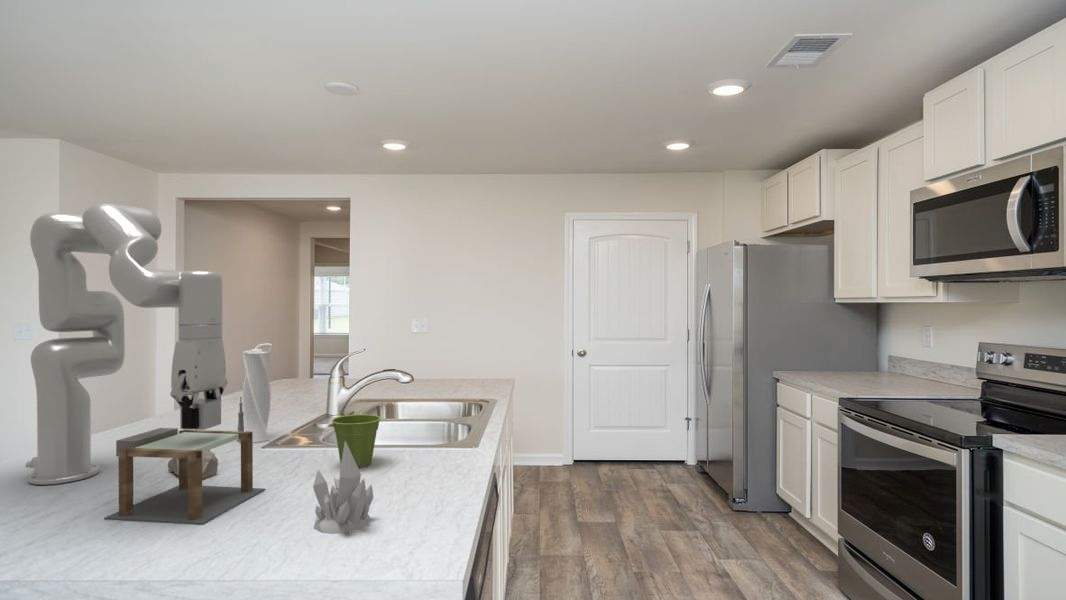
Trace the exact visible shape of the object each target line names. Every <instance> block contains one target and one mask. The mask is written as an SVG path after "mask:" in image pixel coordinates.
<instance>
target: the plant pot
mask: <svg viewBox="0 0 1066 600" xmlns="http://www.w3.org/2000/svg"><path fill="white" fill-rule="evenodd" d="M381 420H382V417H381V416H379V415H375V414H364V413H363V414H360V413H359V414H346V415H341V416H337V417H334V418H331V419H330V422H331V424H333V430H334V432H335V436H336V444H337V448H338V456H339V461H340V464H341V462H342V456H343V449H344V443H345V441H346V443H347V445H348V447H349V449H350V451H351V454H352V456H353V458H354V460H355V462H356V464H357V467H358V469H359V468H361V467H368V466H370V465H371V464H372V461H373V456H374V449H375V444H376V438H377V437H376V436H377V433H378V430H379V425H380V421H381Z"/></svg>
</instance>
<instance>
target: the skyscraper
mask: <svg viewBox="0 0 1066 600" xmlns="http://www.w3.org/2000/svg"><path fill="white" fill-rule="evenodd" d="M262 346H269V349H268V351H263V349H261V348H260V347H262ZM272 348H273V344H272V343H269V342H268V343H266V342H265V343H260V344H257V346H255V347H254V349H253V348H252V349H249V350H244V351H243V352H242V359H243V363H244V364H243V366H244V370H245V375H244V379H243V387H242V396H241V397H240V399H239V401H240V403H239V404H238V405H239V410H238V413H237V415H238V416H237V417H238V419H237V431H241V432H245V431H248V432H252V434H253V444H258V443H265V442H270V439H269V436H268V434H267V433H268V432H267V430H268V429H267V428H268V424H269V418H270V413H271V398H272V397H271V396H272V395H271V384H270V379H269V375H268V371H267V370H268V365H269V362H270V355H271V351H272ZM236 441H237V443H239V444H241V439H237V440H236Z"/></svg>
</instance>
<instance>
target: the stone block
mask: <svg viewBox="0 0 1066 600" xmlns="http://www.w3.org/2000/svg"><path fill="white" fill-rule="evenodd" d="M196 408H199V428H197V429H195V430H208V429H210V428H213V427H217V426H220V425H222V398H221V399H205V398H198V401H197V406H196ZM179 410H180V415H179V416H180V421H179V422H180V423H179V424H180V426H179V427H180V430H184V429H183V428H182V408H180V407H179Z"/></svg>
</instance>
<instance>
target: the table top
mask: <svg viewBox="0 0 1066 600" xmlns="http://www.w3.org/2000/svg"><path fill="white" fill-rule="evenodd" d="M264 491H266V488H264V487H262V488H260V487H253V490H251V491H250V492H241V486H240V487H239V486H237V487H236V486H216V485H214V486H213V485H202V517H201V518H199V519H197V520H188V489H179V484H178V485H176V486H173V487H171V488H169V489H166V490H164V491H162V492H160V493H158V494H155V495H153V496H150V497H148V498H146V499H143V500H141V501H139V502H136V503H133V508H134V513H133V514H130V515H128V516H119V510H118V511H117V512H116V511H115V512H114V513H111V514H109V515H107V516H105V517H103V519H104V520H110V521H111V520H112V521H114V520H115V521H131V522H148V523H149V522H150V523H166V524H167V523H168V524H182V523H183V524H185V525H200V524H201V525H202V524H203V525H206V524H207V523H208V521H209V522H210V520H211V521H212V520H214V519H216V518H217V516H218V517H220V516H222V515H223V514H225V513H227V512H229V511H230V510H232V509H234V508H236V507H238V506H240V505H241V504H243V503H245V502H247V501H249V500H250V499H252V498H254V497H256V496H257V495H259V494H261V493H262V492H264ZM235 506H236V507H235ZM233 507H234V508H233ZM231 508H232V509H231ZM229 509H230V510H229ZM228 510H229V511H228ZM226 511H227V512H226ZM224 512H225V513H224ZM222 513H223V514H222ZM219 515H220V516H219ZM215 517H216V518H215ZM201 525H200V526H201Z"/></svg>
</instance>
